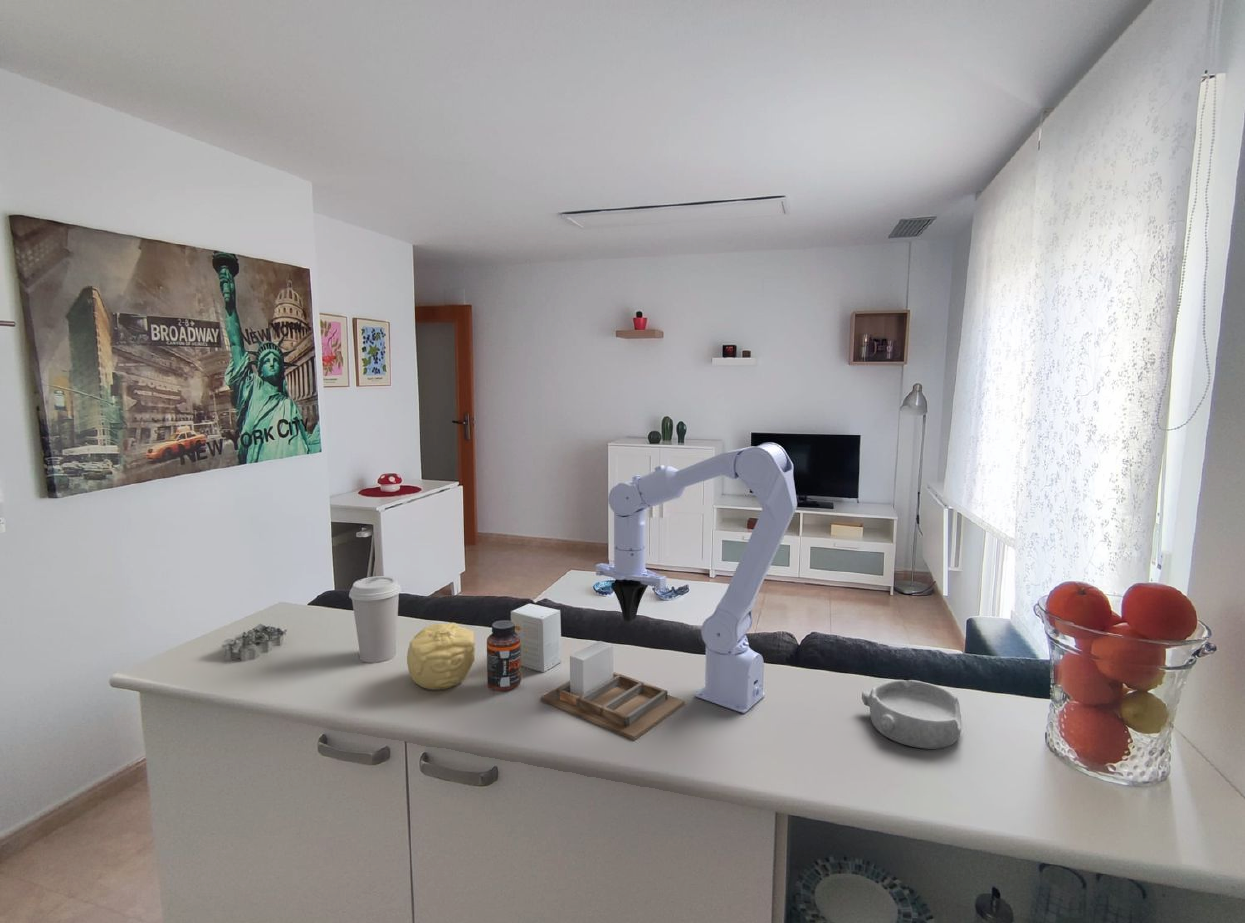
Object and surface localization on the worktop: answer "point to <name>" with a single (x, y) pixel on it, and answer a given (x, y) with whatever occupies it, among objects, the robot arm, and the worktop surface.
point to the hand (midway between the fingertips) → (629, 619)
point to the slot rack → (618, 705)
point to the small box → (538, 636)
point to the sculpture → (441, 656)
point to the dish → (915, 713)
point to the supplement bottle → (503, 657)
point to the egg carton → (253, 642)
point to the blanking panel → (591, 668)
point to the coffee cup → (376, 617)
